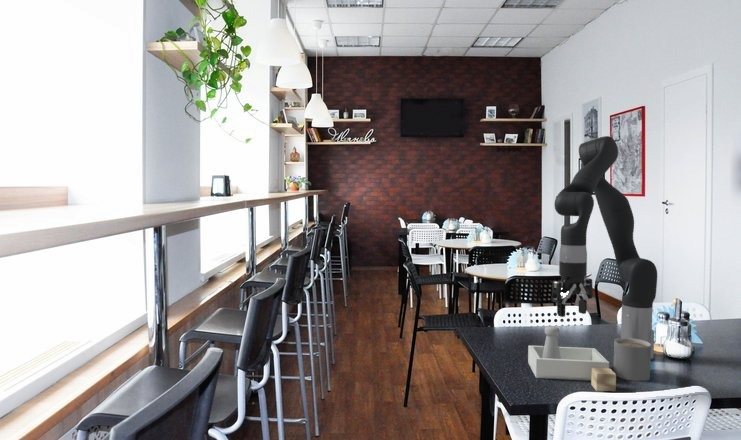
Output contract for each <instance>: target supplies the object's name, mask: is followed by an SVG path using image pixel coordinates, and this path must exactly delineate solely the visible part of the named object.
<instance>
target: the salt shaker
mask: <svg viewBox="0 0 741 440" xmlns="http://www.w3.org/2000/svg"><path fill="white" fill-rule="evenodd" d="M544 334H545V335H546V337H545V341H544V345H543V346H544V350H543V355H542V358H549V359H561V356H560V351H559V347H560V346H559V340H558V336H559V335H560V328H559V327H556V326H553V325H548V326H545V328H544Z"/></svg>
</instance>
